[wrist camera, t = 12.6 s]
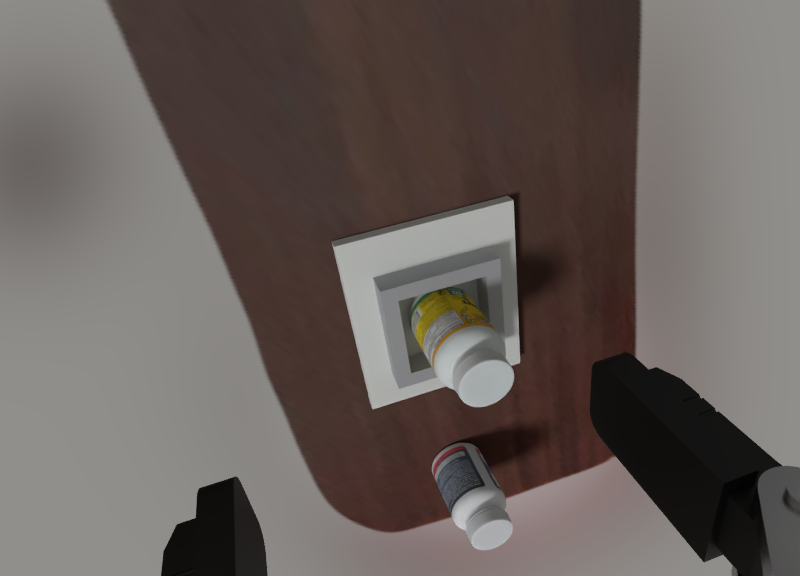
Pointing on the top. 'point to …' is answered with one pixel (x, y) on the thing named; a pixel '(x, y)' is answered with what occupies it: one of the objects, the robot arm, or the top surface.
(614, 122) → the top surface
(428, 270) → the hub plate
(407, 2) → the top surface
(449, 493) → the pill bottle
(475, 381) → the supplement bottle
